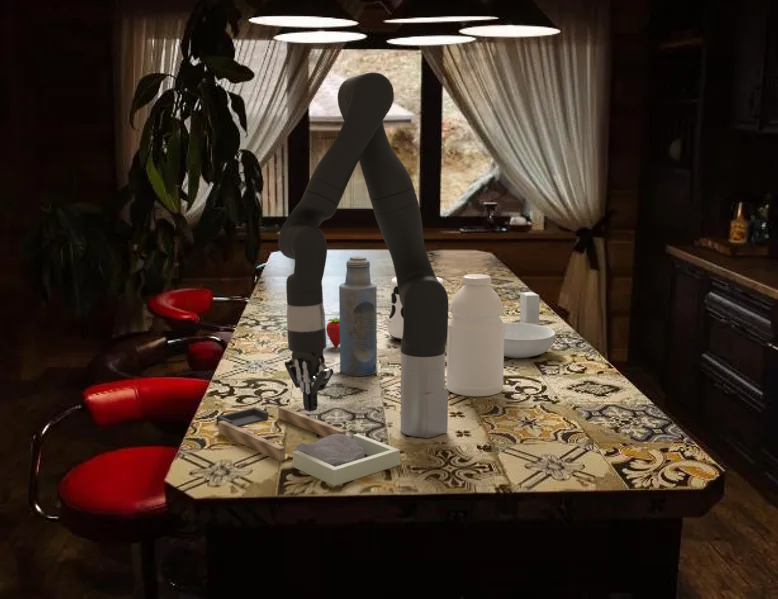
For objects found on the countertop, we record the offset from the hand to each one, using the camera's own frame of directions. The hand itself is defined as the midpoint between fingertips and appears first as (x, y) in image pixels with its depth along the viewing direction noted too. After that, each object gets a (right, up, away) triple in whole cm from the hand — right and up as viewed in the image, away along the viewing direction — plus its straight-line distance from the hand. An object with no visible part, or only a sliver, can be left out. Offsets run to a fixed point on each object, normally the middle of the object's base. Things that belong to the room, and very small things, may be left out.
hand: (310, 410), depth 192 cm
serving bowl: (+51, +7, +76) cm, 92 cm away
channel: (-7, -7, +7) cm, 12 cm away
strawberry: (+1, +8, +83) cm, 83 cm away
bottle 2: (+36, 0, +42) cm, 56 cm away
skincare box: (+58, +12, +102) cm, 118 cm away
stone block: (+5, -10, -7) cm, 13 cm away
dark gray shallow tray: (-16, -4, +18) cm, 24 cm away
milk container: (+24, +10, +93) cm, 96 cm away
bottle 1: (+8, +3, +58) cm, 58 cm away
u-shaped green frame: (+7, -10, -8) cm, 15 cm away
